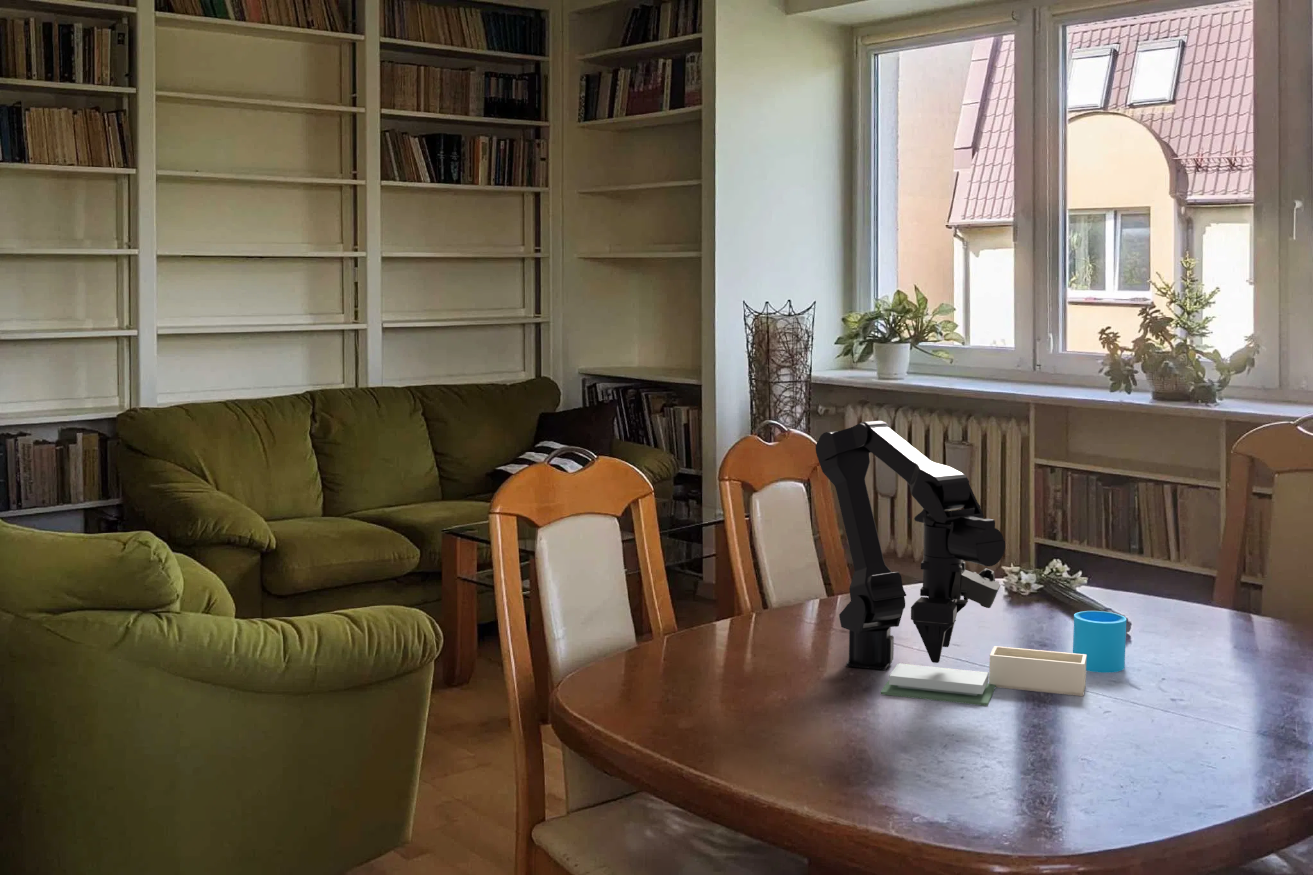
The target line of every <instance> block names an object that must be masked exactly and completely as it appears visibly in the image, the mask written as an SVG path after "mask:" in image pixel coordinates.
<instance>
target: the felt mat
mask: <svg viewBox="0 0 1313 875" xmlns="http://www.w3.org/2000/svg"><path fill="white" fill-rule="evenodd" d="M996 688H997V687H996V685H993V684H989V682H988V683H987V685H986V687H985V690H984V692H983V694H977V696H975V695H965V694H956V693H947V692H937V691H928V690H919V689H909V688H900V687H898V685H889V679H888V680H887V681H886V683H885V685H884V686H883V687H882V689H881V690H880V695H881V696H882V695H884V696H893V697H902V698H913V699H919V700H920V699H923V700H931V701H939V702H949V703H957V704H968V705H975V706H985V707H988V706H989V703H990V701H991V699H992V696H993V694H994V691H995V690H996Z"/></svg>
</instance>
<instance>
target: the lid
mask: <svg viewBox="0 0 1313 875" xmlns="http://www.w3.org/2000/svg"><path fill="white" fill-rule="evenodd" d="M888 677H889V678H888V680H889V685H898V687H900V688H909V689H919V690H928V691H937V692H947V693H956V694H965V695H975V696H977V694H983V692H984V690H985V687H986V685H987V683H989V672H988V671H987V672H986V671H978V670H969V669H968V670H967V669H957V668H948V667H937V666H928V665H927V666H926V665H918V664H910V663H909V664H906V663H900V662H899V663H897V664H896V666H895V667H894V669H892V671H891V672H890V674H889V676H888Z"/></svg>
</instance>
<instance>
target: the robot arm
mask: <svg viewBox="0 0 1313 875" xmlns="http://www.w3.org/2000/svg"><path fill="white" fill-rule="evenodd" d="M815 453H816V454H815V455H816V458H817V460H818V463H819V466H820V468H821V471H822V473H823V475H825V477H827V479H828V480H829V481H830V482H831V483H832V484H833V485H834V487H835V490H836V491H835V492H836V494H837V499H838V500H837V501H838V503H839V508H840V512H841V516H842V520H843V525H844V530H845V534H846V538H847V543H848V547H849V551H850V555H851V556H850V557H851V560H852V564H853V569H854V570H853V571H854V572H853V575H852V578H851V582H850V584H849V585H850V586H849V589H848V590H849V595H850V596H849V597H850V601H849V602H848V604H847V605H846V606H845V607H844V609H842V610H841V612H840V613H839V614H838V617H839V622H840V626H841V628H842V629H846V630H848V631H849V632H848V660H847V662H845V667H846V666H847V667H852V668H861V669H870V670H871V669H872V670H886V669H887V668H888V667H889V666H890V665H891V664H892V662H893V660H894V649H895V648H894V647H895V646H894V645H895V644H894V642H895V638H894V636H893V635H891V631H892V630H891V628H894V627H895V628H896V627H899V626H900V623H901V619H902V615H903V612H904V609H906V599H905V597H907V593H906V592H905V589H904V586H903V579H902V578H903V577H902V575H901V574H900V571H893V572H892V570H891V569H890V568H889V567H888V566H887V565H886V563H885V560H884V555H883V551H882V547H881V542H880V538H879V534H878V530H877V525H876V522H875V519H874V518H875V517H874V513H873V509H872V505H871V500H870V497H869V493H868V488H867V484H866V478H867V474H868V470H869V468H870V464H871V460H870V454H873V455H874V456H876V458H878V459H879V460H880V461H881V462H882V463H884V464H885V465H886V466H887V467H889V468H890V469H891V470H892V471H893V472H894V473H895V474H897V475H898V476H899V477H900V478H902V480H904V481H906V483H907V484H908V486H909V489H910V490H909V491H910V494H911V496H912V497H913V498H914V500H916V502H917V503H918V504H919V506H920V507H921V509H922V510H921V511H920V512H919V513H917V515H916V516H915V517H914V521H915V522H917V523H923V552H922V554H923V557H922V558H923V559H922V561H921V562H920V570H922V586H921V588H920V589H919V590H920V591H919V592H920V593H919V595H920V597H919V598H918V599H917V600H916V601H915V602H914V603H913V604H912V605H911V607H910V620H911V621H912V622H913V625H915V627H916V629H917V632H918V633H919V636H920V638H921V641H922V643H923V645H924V647H925V649H926V650H925V651H926V652H927V654H928V656H929V660H930V662H932V663H934V664H938V663H940V660H941V657H942V652H943V648H949V646H950V645H951V643H950V642H951V640H952V637H953V636H952V635H953V632H954V627H955V624H956V621H957V615H958V613H959V612H960V611H961V610H963V608H964V607H965V606H967V604H968V602H969V600H971V601H972V602H975V603H977V604H979V605H980V606H981V607H983V608H986V609H990V608H992V605H993V604H994V602H995V599H996V597H997V595H998V592H999V591H1000V587H1001V584H1000V582H999V581H998V580H996V575H995V571H994V570H992V569H989V568H987V567H993V566H996V564H998V563H999V562H1000V561H1001V559H1002V558H1003V556H1004V554H1005V552H1006V551H1005V550H1006V541H1005V539H1004V536H1003V533H1002V532H1001V531H1000V530H999V529H998V528H996V520H995V519H991V518H984V516H985V515H984V513H983V511H982V509H981V506H980V504H979V502H978V500H977V498H976V496H975V494H974V491H973V489H972V487H971V485H970V480H969V479H968V477H967V476H966V474H964V473H963V472H961V471H959V470H957V469H955V468H954V467H951V466H950V465H946V464H941V463H939V462H935V461H932V460H931V459H929V458H928V457H927V456H926V455H924V454H923V453H921V452H920V451H919V450H918V449H917V448H916V447H914V446H912V445H911V443H909V442H908V441H907V440H905V439H904V438H903V437H901V436H900V435H899V434H897V433H896V431H894V430H893V429H892V428H891V426H890V425H889V424H888V422H886V421H883V420H873V421H861V422H859V423H858V424H855V425H853V426H852V427H848V428H845V429H841V430H838V431H837V430H835V431H825V432H823V433H822V434H820V437H818V440H817V442H816V444H815ZM967 562H969V563H973V564H977V565H980V566H984V567H985V568H984V569H983V570H981V571H980V572H979V573H977V572H976V571H973V572H972V571H971V570H970V571H969V570H967V569H966V567H967V566H966V564H967ZM962 597H963V599H962Z"/></svg>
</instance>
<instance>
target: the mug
mask: <svg viewBox="0 0 1313 875" xmlns="http://www.w3.org/2000/svg"><path fill="white" fill-rule="evenodd" d="M1126 632H1127V617H1126V616H1124V615H1121V614H1119V613H1115V612H1111V611H1104V610H1101V611H1100V610H1084V611H1083V610H1082V611H1079V612H1075V613H1074V614H1073V633H1072V634H1073V637H1072V638H1073V640H1072V641H1073V642H1072V653H1075V654H1086V655H1087V657H1086V672H1093V673H1103V674H1106V673H1107V674H1108V673H1109V674H1110V673H1111V674H1112V673H1119V672H1122V671H1123V670H1125V669H1126V668H1125V665H1126V664H1125V663H1126V643H1127V642H1126V639H1127V638H1126V637H1127V633H1126Z"/></svg>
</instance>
